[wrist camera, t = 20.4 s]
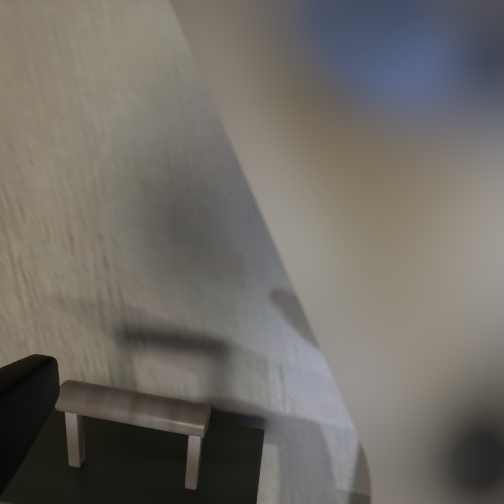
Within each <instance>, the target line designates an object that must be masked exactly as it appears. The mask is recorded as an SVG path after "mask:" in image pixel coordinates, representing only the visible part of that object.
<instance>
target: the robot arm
mask: <svg viewBox="0 0 504 504" xmlns="http://www.w3.org/2000/svg"><path fill="white" fill-rule="evenodd" d="M59 394H60V384H59V372H58V363H57V360H56V359H55V358H54V357H52V356H46V355H40V354H34V355H31V356H28V357H26V358H23V359H21V360H18V361H16V362H14V363H11V364H9V365H6V366H4V367H1V368H0V496H1V495H2V493H3V492H4V491H5V489H6V488H7V486H8V485H9V483H10V482H11V480H12V479H13V477H14V476H15V474H16V472H17V471H18V469H19V467H20V466H21V464H22V462H23V460H24V459H25V457H26V455H27V453H28V452H29V450H30V448H31V446H32V445H33V443H34V441H35V439H36V438H37V436H38V434H39V432H40V431H41V429H42V427H43V425H44V424H45V422H46V420H47V418H48V417H49V415H50V413H51V411H52V410H53V408H54V406H55V404H56V403H57V400H58V398H59Z"/></svg>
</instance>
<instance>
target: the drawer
mask: <svg viewBox="0 0 504 504" xmlns="http://www.w3.org/2000/svg"><path fill="white" fill-rule="evenodd" d="M210 414H211V406H210V405H207V404H201V403H195V402H190V401H184V400H179V399H173V398H168V397H162V396H156V395H151V394H145V393H140V392H134V391H129V390H123V389H117V388H112V387H106V386H101V385H95V384H90V383H84V382H78V381H73V380H66V381H65V382H64V383H63V384H62V385H61V386H60V394H59V398H58V400H57V403H56V404H55V406H54V408H53V410H52V411H51V413H50V415H49V417H48V418H47V420H46V422H45V424H44V425H43V427H42V429H41V431H40V432H39V434H38V436H37V438H36V439H35V441H34V443H33V445H32V446H31V448H30V450H29V452H28V453H27V455H26V457H25V459H24V460H23V462H22V464H21V466H20V467H19V469H18V471H17V472H16V474H15V476H14V477H13V479H12V480H11V482H10V483H9V485H8V486H7V488H6V489H5V491H4V492H3V493H2V495H1V496H0V504H256V502H257V493H258V484H259V475H260V466H261V457H262V448H263V439H264V430H263V429H258V428H252V427H247V426H241V425H236V424H230V423H225V422H219V421H214V420H210Z"/></svg>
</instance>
